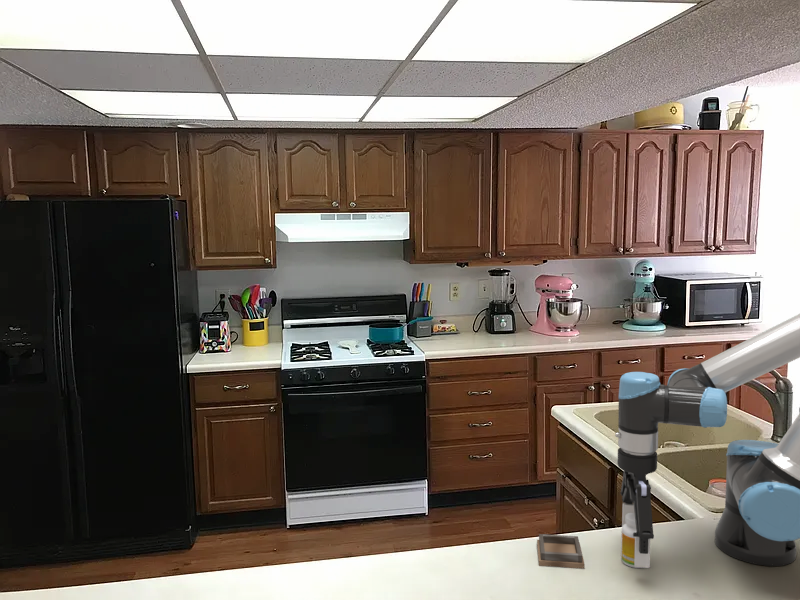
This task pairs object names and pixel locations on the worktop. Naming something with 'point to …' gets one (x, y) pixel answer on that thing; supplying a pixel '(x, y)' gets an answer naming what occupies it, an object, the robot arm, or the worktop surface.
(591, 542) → the worktop surface
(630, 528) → the supplement bottle
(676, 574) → the worktop surface
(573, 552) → the socket board
